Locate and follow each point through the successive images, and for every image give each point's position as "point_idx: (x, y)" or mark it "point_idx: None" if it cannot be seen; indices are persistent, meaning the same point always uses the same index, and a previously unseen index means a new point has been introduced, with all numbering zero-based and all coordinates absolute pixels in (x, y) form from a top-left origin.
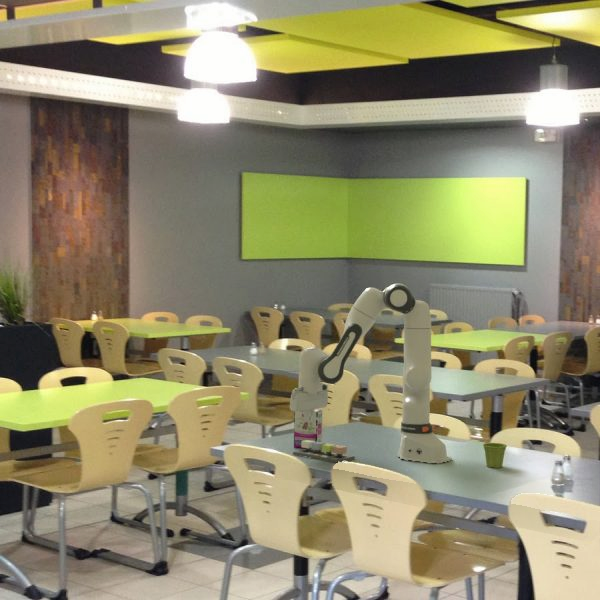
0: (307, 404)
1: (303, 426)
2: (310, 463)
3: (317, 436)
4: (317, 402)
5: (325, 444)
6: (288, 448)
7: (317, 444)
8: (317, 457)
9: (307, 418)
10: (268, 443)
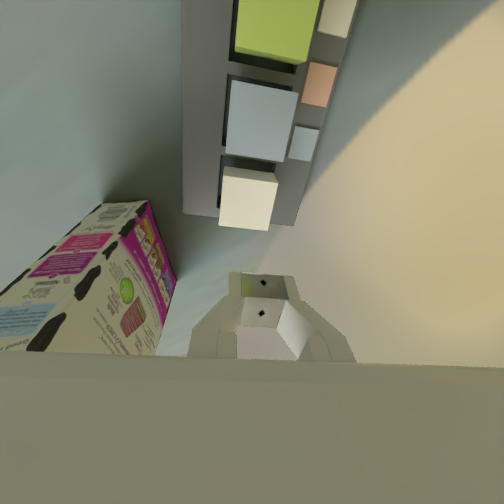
0: (445, 468)
1: (140, 321)
2: (459, 31)
3: (120, 228)
4: (99, 501)
5: (282, 43)
6: (202, 285)
7: (294, 110)
8: (338, 66)
9: (296, 289)
10: (184, 347)
